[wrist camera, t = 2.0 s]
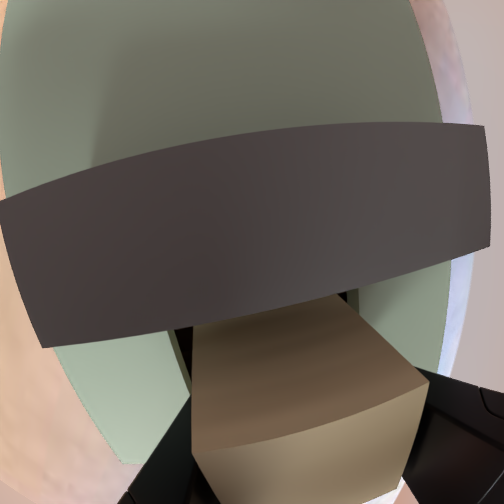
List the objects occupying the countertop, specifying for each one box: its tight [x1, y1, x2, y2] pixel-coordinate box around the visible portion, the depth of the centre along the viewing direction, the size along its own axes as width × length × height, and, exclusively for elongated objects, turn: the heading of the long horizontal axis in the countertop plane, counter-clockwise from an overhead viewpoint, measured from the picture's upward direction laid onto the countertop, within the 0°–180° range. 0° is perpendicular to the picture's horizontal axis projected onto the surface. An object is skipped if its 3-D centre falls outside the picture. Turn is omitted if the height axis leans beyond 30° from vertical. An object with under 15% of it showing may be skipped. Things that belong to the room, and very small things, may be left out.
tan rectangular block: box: [191, 294, 429, 504], centre depth 7 cm, size 4×4×7 cm
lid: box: [0, 0, 491, 464], centre depth 5 cm, size 16×12×4 cm
